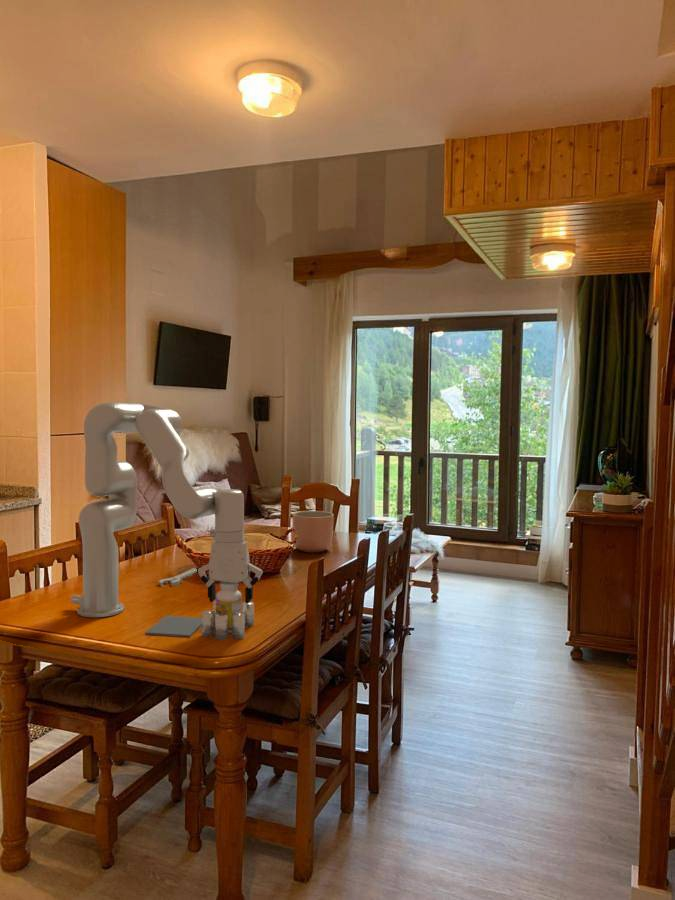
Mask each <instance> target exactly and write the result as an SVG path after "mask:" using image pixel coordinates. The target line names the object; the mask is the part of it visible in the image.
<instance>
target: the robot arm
mask: <svg viewBox="0 0 675 900" xmlns="http://www.w3.org/2000/svg"><path fill="white" fill-rule="evenodd" d="M183 426H184V424H183V420H182V417H181V416H180V415H179V414H178V412H176V411H175V410H173V409H170V408H165V407H160V406H155V405H151V404H146V403H139V402H122V401H118V402H117V401H116V402H115V401H110V402H102V403H100V404H97V405H94V407H92V408H91V409H90V410H89V411H88V412H87V414H86V416H85V418H84V422H83V435H84V442H85V443H84V445H85V453H84V454H85V455H84V486H85V490H86V491H87V492H88V494H90V495H91V496H94V497H105V496H108V499H101V500H96V501H93V502H89V503H88V504H86V505H85V506H83V508H82V509H81V510H80V512H79V515H78V525H79V531H80V534H81V542H82V545H81V546H82V595H80V594H72V595H71V597H70V604H78V605H79V607H77V609H76V613H77V614H78V615H79V616H81V617H84V618H107V617H111V616H116V615H118V614H121V613H122V612H124V610H125V605H124V603H122V602H121V601H119V599H120V598H119V596H120V595H119V591H120V590H119V586H120V585H119V584H120V583H119V545H118V543H117V540H116V537H115V534H114V532H119V531H122V530H125V529H128V528H129V527H131V526H132V525H133V524H134V522H135V520H136V517H137V512H138V511H137V510H138V477H137V473H136V470H135V469H134V467H133V466H132V464H130V463H129V462H127V461H124V460H118V445H117V443H116V439H115V438H114V436H113V434H118V433H121V434H122V433H124V434H125V433H138V434H139V435H140V438H141V439H142V441H143V442H144V444H145V445H146V447H147V448H148V449H149V451H150V452H151V454H152V455H153V457H154V458H155V460H156V461H157V463H158V464H159V466H160V469H161V480H162V481H161V482H162V487H163V489H164V493H165V494H166V496H167V498H168V499H169V501H170V502H171V504H172V505H173V507H174V508H175V510H176V512H178V513H179V514H180V515H181V516H182V517H184V518H186V519H188V520H196V519H201V518H204V517H209V516H212V515H214V531H210V532H209V537H210V538H213V539H214V541H212V542H211V546H210V551H209V552H210V553H209V561H208V562H209V563H208V564H206V565H202V567H201V568H199V569H198V573H197V574H198V575H199V577H200V579H201V580H200V581H202V582H203V583H204V584H205V586H206V587H207V598H208V599H209V603H213V602H214V601H216V595H217V592H216V590H217V589H216V588H217V587H216V584H215V582H221V581H229V582H238V583H241V582H243V584H244V585H245V586H246V587H245V588H244V589H245V590H244V597H245V598H244V600H245V601H244V602H245V603H249V602H252V599H253V598H254V596H253V595H254V591H253V589H254V588H253V587H254V585H255V584H257V582H258V581H260V579H261V576H262V575H263V572H264V571H263V570H262V569H261V568H259V567H257V566H256V565H254V564H252V563H251V561H250V553H249V547H248V542H247V540H245V495H244V493H243V491H242V490H240V489H233V488H227V489H223V488H217V487H211V486H207V487H200V488H195V489H194V487H193V486H192V484H191V483H190V481H189V479H188V478H187V476H186V473H185V470H184V464H185V461H186V460H187V459H188V457H189V455H190V451H189V448H188V447H187V446H186V444H185V443H184V441H183V440H182V438H181V437H180V434H181V433H182V431H183ZM206 571H208V574H206ZM251 572H253V573H255V575H254V578H253V579H252V578H251V577H250V576H251Z"/></svg>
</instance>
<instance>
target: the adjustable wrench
mask: <svg viewBox="0 0 675 900" xmlns="http://www.w3.org/2000/svg"><path fill="white" fill-rule="evenodd" d="M196 572H197V569H196V568H195V567H193V568H191V569H188V570H186V571H184V572H182V573H180V574H178V575H175V576H172V577H169V578H163V579H160V580H158V586H159V585H160V586H159V587H163V586H164V585H167V584H166V583H164V582H168V583H171V584H170V587H175V586H174V585H176V586H179V585H181V584H180V583H183V580H184V579H183V578H185V577H187V576H189V577H191V576H193V575H192V574H194V573H196ZM196 574H197V573H196ZM190 575H191V576H190ZM194 575H195V574H194ZM187 578H188V577H187ZM181 579H183V580H181ZM185 579H186V578H185ZM163 584H164V585H163ZM178 584H179V585H178Z"/></svg>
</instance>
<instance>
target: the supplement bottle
mask: <svg viewBox="0 0 675 900" xmlns="http://www.w3.org/2000/svg"><path fill="white" fill-rule="evenodd" d="M219 582H220V583H219V588H220V590H219V591H218V592H216V599H215V601H216V614H218V613H227V614H228V633H229V634H232V614H233V613H235V612H242V592H241V591H239V590H238V587H239V582H229V581H219Z"/></svg>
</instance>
